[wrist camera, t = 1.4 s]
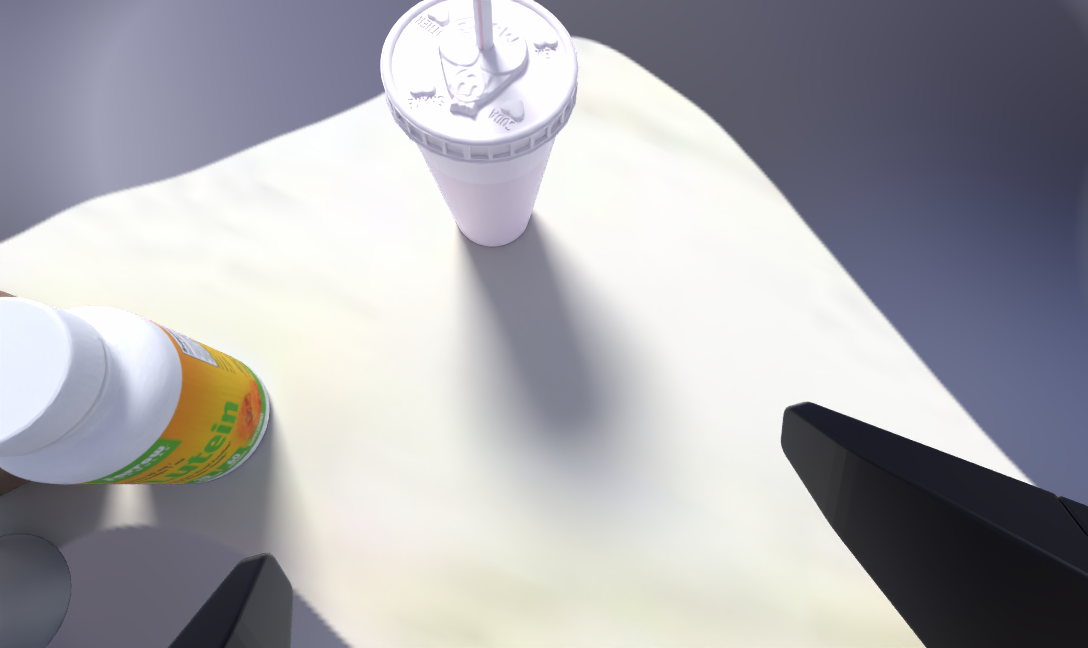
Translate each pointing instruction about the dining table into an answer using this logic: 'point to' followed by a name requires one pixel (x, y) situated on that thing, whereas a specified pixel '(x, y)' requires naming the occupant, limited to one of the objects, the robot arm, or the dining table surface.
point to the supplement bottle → (119, 399)
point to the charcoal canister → (31, 591)
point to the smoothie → (482, 103)
